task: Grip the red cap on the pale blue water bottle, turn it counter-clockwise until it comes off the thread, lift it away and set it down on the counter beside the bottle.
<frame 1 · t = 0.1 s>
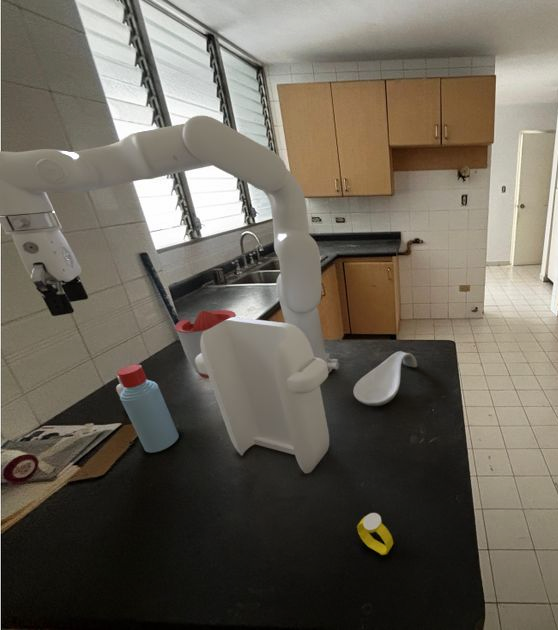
hand: (71, 306, 70), 31 cm above the worktop, tool pointing down, fingers open, 9 cm apart
water bottle: (162, 441, 76), on the worktop
cap: (129, 370, 69), point 19 cm above the worktop, screwed on, not yet turned
eye dropper bottle: (139, 410, 88), on the worktop
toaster: (287, 447, 73), on the worktop
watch: (376, 547, 53), on the worktop
spoon rest: (389, 386, 92), on the worktop
citrus juicer: (220, 369, 105), on the worktop
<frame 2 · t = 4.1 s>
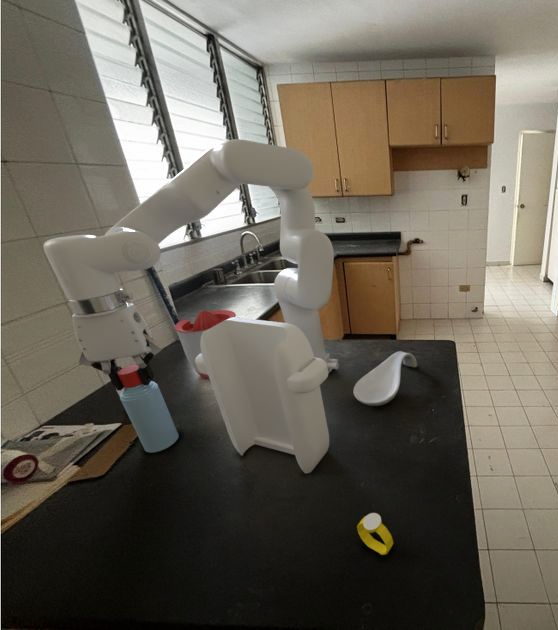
hand: (135, 383, 70), 16 cm above the worktop, tool pointing down, fingers closed on cap, 3 cm apart
cap: (129, 370, 69), point 19 cm above the worktop, screwed on, not yet turned, touching gripper
everything else where it was.
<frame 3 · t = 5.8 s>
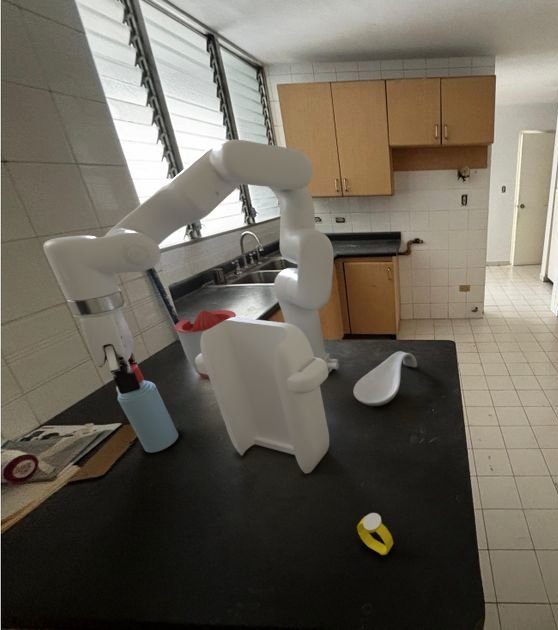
hand: (132, 385, 70), 16 cm above the worktop, tool pointing down, fingers closed on cap, 3 cm apart
cap: (126, 370, 68), point 19 cm above the worktop, turned 106° so far, risen 0.1 cm, still on its thread, touching gripper
everything else where it was.
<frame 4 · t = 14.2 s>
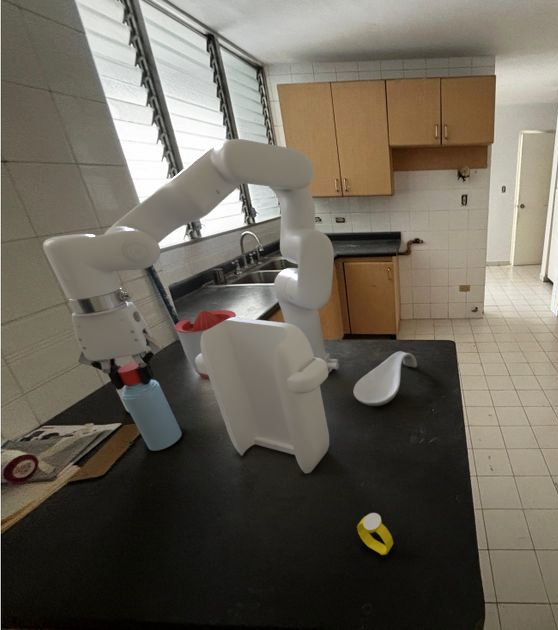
hand: (135, 382, 70), 16 cm above the worktop, tool pointing down, fingers closed on cap, 3 cm apart
cap: (130, 368, 69), point 19 cm above the worktop, turned 211° so far, risen 0.2 cm, still on its thread, touching gripper
everything else where it was.
when the fingers open (1 cm above the worktop, at t = 26.9 s): cap drops 2 cm, point 3 cm above the worktop.
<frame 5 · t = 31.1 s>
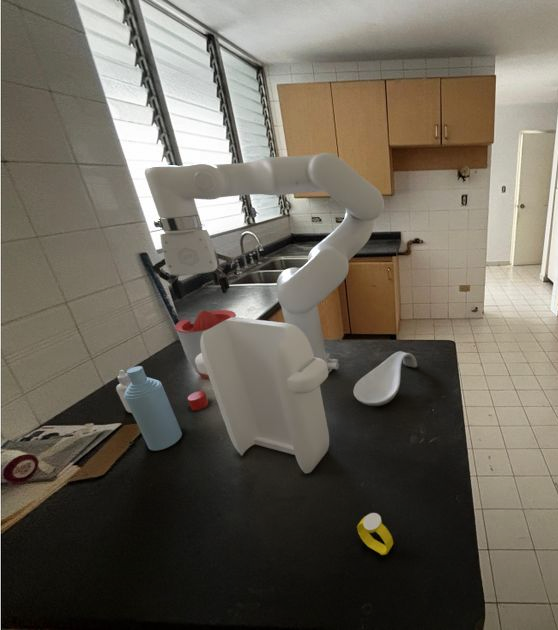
hand: (204, 294, 84), 28 cm above the worktop, tool pointing down, fingers open, 9 cm apart
cap: (196, 396, 87), point 3 cm above the worktop, off its thread
everything else where it was.
at the end: cap inside the target area (0.4 cm from its centre), point 2.9 cm above the worktop; the gripper is holding nothing; water bottle tilted 0° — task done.
